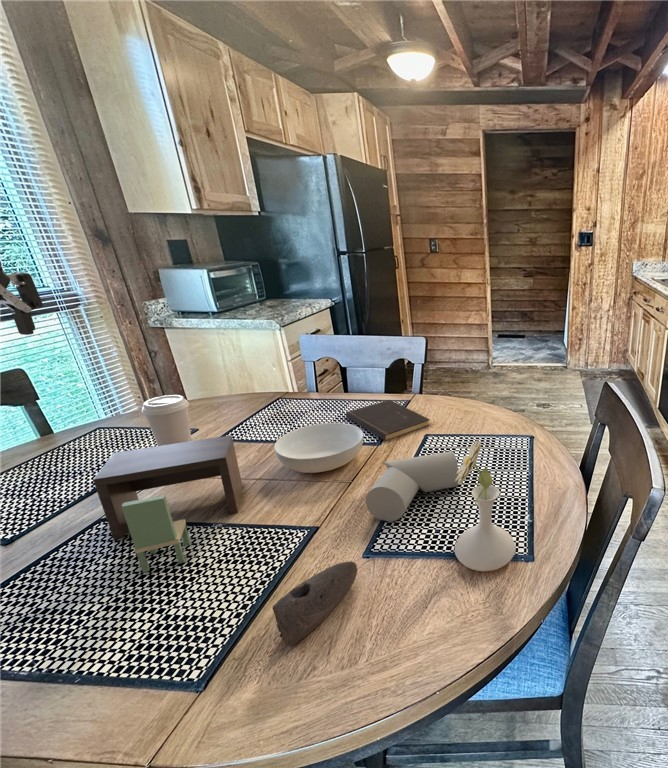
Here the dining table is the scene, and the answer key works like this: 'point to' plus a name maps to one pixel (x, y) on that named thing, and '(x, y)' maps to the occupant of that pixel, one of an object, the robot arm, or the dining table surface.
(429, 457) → the l-shaped cylinder
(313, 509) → the dining table surface
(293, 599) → the perforated stone tool
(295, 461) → the serving bowl
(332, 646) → the dining table surface
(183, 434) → the coffee cup
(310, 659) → the dining table surface
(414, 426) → the hardcover book
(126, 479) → the desk
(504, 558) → the flower in vase
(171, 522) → the chair
